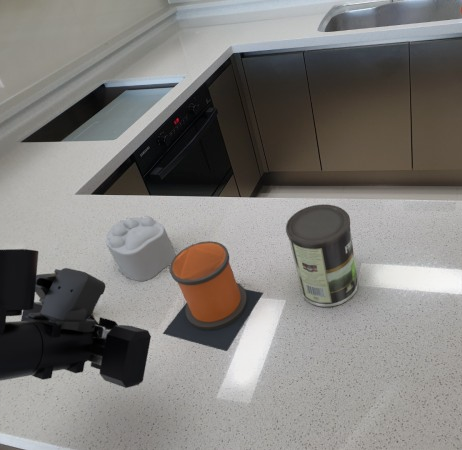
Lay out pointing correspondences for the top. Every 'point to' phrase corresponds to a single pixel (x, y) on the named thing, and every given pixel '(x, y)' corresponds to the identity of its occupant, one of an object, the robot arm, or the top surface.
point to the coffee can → (323, 254)
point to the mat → (214, 337)
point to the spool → (208, 286)
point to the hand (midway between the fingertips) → (132, 335)
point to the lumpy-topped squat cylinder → (140, 247)
